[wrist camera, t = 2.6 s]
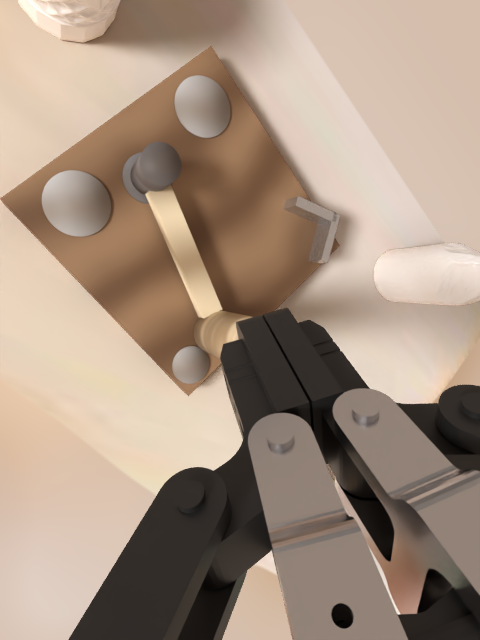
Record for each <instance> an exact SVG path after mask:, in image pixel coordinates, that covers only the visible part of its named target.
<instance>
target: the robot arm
mask: <svg viewBox="0 0 480 640" xmlns="http://www.w3.org/2000/svg"><path fill="white" fill-rule="evenodd" d="M236 329H237V334H238V339H239V340H236V341H232V342H228V343H225V344H223V347H222V351H221V355H220V360H221V364H222V369H223V373H224V377H225V381H226V386H227V390H228V394H229V398H230V401H231V404H232V407H233V410H234V413H235V416H236V419H237V422H238V425H239V428H240V431H241V434H242V437H243V442H242V445H241V447H240V448H239V450H238V451H237V453H236V454H235V455H234V456H233V457H232V458H231V459H230V460H229V461H228V462H226V463H225V464H223V465H222V466H220V467H219V468H217V469H216V470H214V471H212V470H210V469H207V468H203V467H194V468H188V469H185V470H182V471H180V472H178V473H176V474H175V475H173V476H172V477H171V478H170V479H168V481H167V482H166V483H165V484H164V485H163V487H162V488H161V489H160V491H159V493H158V494H157V496H156V498H155V499H154V501H153V503H152V505H151V506H150V507H149V509H148V511H147V512H146V514H145V516H144V517H143V519H142V520H141V522H140V524H139V525H138V527H137V529H136V530H135V532H134V534H133V535H132V537H131V538H130V540H129V542H128V543H127V545H126V547H125V548H124V550H123V552H122V553H121V555H120V556H119V558H118V560H117V562H116V563H115V565H114V566H113V568H112V569H111V571H110V573H109V574H108V576H107V578H106V579H105V581H104V582H103V584H102V586H101V587H100V589H99V591H98V592H97V594H96V596H95V597H94V599H93V600H92V602H91V604H90V605H89V607H88V609H87V610H86V612H85V614H84V615H83V617H82V618H81V620H80V622H79V623H78V625H77V627H76V628H75V630H74V631H73V633H72V635H71V637H70V638H69V640H222V638H223V635H224V632H225V630H226V627H227V624H228V622H229V619H230V616H231V614H232V611H233V609H234V606H235V603H236V600H237V598H238V595H239V592H240V590H241V587H242V585H243V582H244V579H245V576H246V573H247V570H248V569H249V568H251V567H252V566H253V565H254V564H255V563H257V562H258V561H259V560H260V559H262V558H263V557H264V556H265V555H266V554H268V553H269V552H270V551H271V550H272V553H273V557H274V562H275V566H276V570H277V574H278V579H279V583H280V587H281V592H282V596H283V600H284V605H285V609H286V613H287V617H288V622H289V626H290V631H291V635H292V639H293V640H480V386H475V385H458V386H453V387H451V388H449V389H447V390H445V391H444V392H443V393H442V394H441V396H440V399H439V403H438V404H437V403H434V404H401V403H395V402H394V401H393V400H392V399H391V398H390V397H389V396H387V395H386V394H384V393H382V392H379V391H376V390H373V389H370V388H369V387H368V386H367V385H366V383H365V382H364V381H363V379H362V378H361V377H360V375H359V374H358V373H357V371H356V370H355V369H354V367H353V366H352V365H351V363H350V362H349V361H348V359H347V358H346V357H345V355H344V354H343V353H342V351H341V352H340V349H339V347H338V346H337V345H336V343H335V342H333V339H332V338H331V337H330V335H329V334H328V333H327V331H326V330H325V329H324V328H323V327H321V326H320V325H318V324H316V323H314V322H312V321H311V320H307V321H303V322H299V323H297V321H296V320H295V318H294V317H293V315H292V314H291V312H290V311H289V309H288V308H284V309H280V310H277V311H273V312H270V313H266V314H262V316H261V315H259V316H255V317H252V318H248V319H244V320H241V321H237V322H236ZM326 464H329V465H330V467H331V469H332V471H333V473H334V475H335V485H334V482H333V480H332V478H331V475H330V473H329V470H328V468H327V465H326ZM341 500H342V502H343V504H344V506H345V507H346V509H347V511H348V512H349V514H350V516H349V515H348V514H347V513H346V511H345V509H344V507H343V504H342V502H341ZM367 544H368V545H367ZM368 546H369V547H370V549H371V551H372V553H373V554H374V556H375V558H376V559H377V561H378V563H379V564H380V566H381V568H382V570H383V572H384V575H385V577H386V580H387V584H388V588H389V591H390V593H391V596H392V598H393V600H394V603H395V605H396V607H397V609H398V611H399V612H400V614H397V612H396V610H395V608H394V605H393V603H392V601H391V598H390V596H389V594H388V591H387V589H386V587H385V584H384V582H383V580H382V577H381V575H380V573H379V570H378V568H377V566H376V563H375V561H374V559H373V556H372V554H371V552H370V549H369V547H368Z"/></svg>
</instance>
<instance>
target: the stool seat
mask: <svg viewBox="0 0 480 640" xmlns="http://www.w3.org/2000/svg"><path fill="white" fill-rule="evenodd" d="M153 142H164V143H167V144H169V145H171V146H172V147H173V148H174V149H175V150H176V151H177V153H178V154H179V156H180V159H181V164H182V168H181V172H180V175H179V177H178V178H177V179H176V180H175V181H174V182H173V183H171V187H172V189H173V191H174V194H175V196H176V199H177V201H178V203H179V206H180V208H181V211H182V213H183V215H184V218H185V220H186V223H187V225H188V228H189V230H190V232H191V235H192V237H193V240H194V242H195V244H196V247H197V249H198V252H199V254H200V256H201V259H202V261H203V264H204V266H205V268H206V271H207V273H208V276H209V278H210V280H211V283H212V285H213V288H214V290H215V293H216V295H217V297H218V300H219V302H220V305H221V307H222V311H226V312H231V313H236V314H241V315H246V316H251V317H255V316H259V315H261V316H262V314H266V313H270V312H273V311H274V310H275V309H276V308H277V307H278V306H279V305H280V304H281V303H282V302H283V301H284V300H285V299H286V298H287V297H288V296H289V295H291V294H292V293H293V292H294V291H295V290H296V289H297V288H298V287H299V286H300V285H301V284H302V283H303V282H304V281H305V280H306V279H307V278H308V277H309V276H310V275H311V274H312V273H313V272H314V271H315V270H316V269H317V268H318V267H319V266H320V265H321V264H322V263H312V262H309V261H308V259H309V255H310V252H311V248H312V244H313V240H314V237H315V233H316V229H317V225H318V224H316V223H314V222H311V221H309V220H307V219H304V218H302V217H300V216H297V215H295V214H293V213H290V212H288V211H286V210H283V207H284V204H285V200H288V199H291V198H294V197H296V196H299V197H302V198H304V199H306V200H308V201H310V202H311V200H310V199H309V197H308V196H307V194H306V193H305V191H304V190H303V188H302V186H301V185H300V183H299V182H298V180H297V179H296V177H295V176H294V174H293V172H292V171H291V169H290V168H289V166H288V165H287V163H286V162H285V160H284V158H283V157H282V155H281V154H280V152H279V151H278V149H277V148H276V146H275V145H274V143H273V141H272V140H271V138H270V137H269V135H268V134H267V132H266V131H265V129H264V127H263V126H262V124H261V123H260V121H259V120H258V118H257V117H256V115H255V113H254V112H253V110H252V109H251V107H250V106H249V104H248V103H247V101H246V99H245V98H244V96H243V95H242V93H241V92H240V90H239V89H238V87H237V85H236V84H235V82H234V81H233V79H232V78H231V76H230V75H229V73H228V72H227V70H226V68H225V67H224V65H223V64H222V62H221V61H220V59H219V58H218V56H217V54H216V53H215V51H214V50H213V48H212V47H211V46H210V47H209V48H208V49H206V50H205V51H204V52H202V53H201V54H199V55H198V56H197V57H195V58H194V59H192V60H191V61H190V62H188V63H187V64H186V65H184V66H183V67H181V68H180V69H179V70H177V71H176V72H175V73H173V74H172V75H170V76H169V77H168V78H166V79H165V80H163V81H162V82H161V83H159V84H158V85H157V86H155V87H154V88H152V89H151V90H150V91H148V92H147V93H146V94H144V95H143V96H141V97H140V98H139V99H137V100H136V101H134V102H133V103H132V104H130V105H129V106H128V107H126V108H125V109H123V110H122V111H121V112H119V113H118V114H117V115H115V116H114V117H112V118H111V119H110V120H108V121H107V122H105V123H104V124H103V125H101V126H100V127H99V128H97V129H96V130H94V131H93V132H92V133H90V134H89V135H88V136H86V137H85V138H83V139H82V140H81V141H79V142H78V143H76V144H75V145H74V146H72V147H71V148H70V149H68V150H67V151H65V152H64V153H63V154H61V155H60V156H59V157H57V158H56V159H54V160H53V161H52V162H50V163H49V164H47V165H46V166H45V167H43V168H42V169H41V170H39V171H38V172H36V173H35V174H34V175H32V176H31V177H30V178H28V179H27V180H25V181H24V182H23V183H21V184H20V185H18V186H17V187H16V188H14V189H13V190H12V191H10V192H9V193H7V194H6V195H5V196H3V197H2V198H1V201H2V202H3V203H4V205H5V206H6V207H7V208H8V209H9V210H10V211H11V212H12V213H13V214H14V215H15V216H16V217H17V218H18V219H19V220H20V221H21V222H22V223H23V224H24V225H25V226H26V228H27V229H28V230H29V231H30V232H31V233H32V234H33V235H34V236H35V237H36V238H37V239H38V240H39V241H40V242H41V243H42V244H43V245H44V246H45V247H46V248H47V249H48V251H49V252H50V253H51V254H52V255H53V256H54V257H55V258H56V259H57V260H58V261H59V262H60V263H61V264H62V265H63V266H64V267H65V268H66V269H67V270H68V271H69V273H70V274H71V275H72V276H73V277H74V278H75V279H76V280H77V281H78V282H79V283H80V284H81V285H82V286H83V287H84V288H85V289H86V290H87V291H88V292H89V293H90V294H91V296H92V297H93V298H94V299H95V300H96V301H97V302H98V303H99V304H100V305H101V306H102V307H103V308H104V309H105V310H106V311H107V312H108V313H109V314H110V315H111V316H112V317H113V319H114V320H115V321H116V322H117V323H118V324H119V325H120V326H121V327H122V328H123V329H124V330H125V331H126V332H127V333H128V334H129V335H130V336H131V337H132V338H133V339H134V340H135V342H136V343H137V344H138V345H139V346H140V347H141V348H142V349H143V350H144V351H145V352H146V353H147V354H148V355H149V356H150V357H151V358H152V359H153V360H154V361H155V362H156V363H157V365H158V366H159V367H160V368H161V369H162V370H163V371H164V372H165V373H166V374H167V375H168V376H169V377H170V378H171V379H172V380H173V381H174V382H175V383H176V384H177V385H178V386H179V388H180V389H181V390H182V391H184V392H185V393H186V394H187V395H188V396H189V395H190V394H191V393H192V392H193V391H194V390H195V389H196V388H197V387H198V386H199V385H200V384H201V383H202V382H203V381H204V380H205V379H206V378H207V377H208V376H209V375H210V374H211V373H212V372H213V371H214V370H215V369H216V368H217V367H218V366H219V365H220V364H221V360H220V358H218V357H216V356H214V355H212V354H210V353H208V352H206V351H204V350H202V349H201V348H200V347H199V346H198V345H197V343H196V341H195V339H194V326H195V323H196V321H197V319H198V318H199V317H198V315H197V313H196V310H195V308H194V306H193V303H192V301H191V299H190V296H189V294H188V292H187V290H186V287H185V285H184V283H183V280H182V278H181V276H180V273H179V271H178V269H177V267H176V264H175V262H174V260H173V257H172V255H171V253H170V250H169V248H168V246H167V244H166V241H165V239H164V237H163V234H162V232H161V230H160V227H159V225H158V223H157V220H156V218H155V216H154V214H153V211H152V209H151V207H150V204H149V202H148V200H147V197H146V195H144V194H141V193H140V192H138V191H137V190H136V189H135V187H134V186H133V184H132V182H131V177H130V173H131V169H132V167H133V165H134V163H135V162H136V161H137V159H138V158H139V156H140V155H141V153H142V152H143V150H144V149H145V147H146V146H148V145H149V144H151V143H153ZM339 246H340V245H339V244H338V242H337V241H336V239H335V238H334V242H333V245H332V249H331V253H330V255H331V254H332V253H333V252H334V251H335V250H336V249H337V248H338V247H339Z"/></svg>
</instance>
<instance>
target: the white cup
mask: <svg viewBox="0 0 480 640" xmlns="http://www.w3.org/2000/svg"><path fill="white" fill-rule="evenodd" d="M120 1H121V0H18V2H19V5H20V6H21V7H22V9H23V10H24V11H25V12H26V13H27V14H28V16H29V17H30V18H31V19H32V20H33V21H34V23H35V24H36V25H37V26H38V27H40V28H41V29H43V30H45V31H47V32H48V33H50V34H52V35H53V36H55V37H57V38H59V39H61V40H67V41H75V42H82V43H84V42H87V41H89V40H92V39H95V38H97V37H100V36H102V35H103V34H104V33H105V31H106V30H107V29H108V27H109V26H110V24H111V23H112V22H113V20H114V18H115V15H116V12H117V8H118V5H119V3H120Z"/></svg>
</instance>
